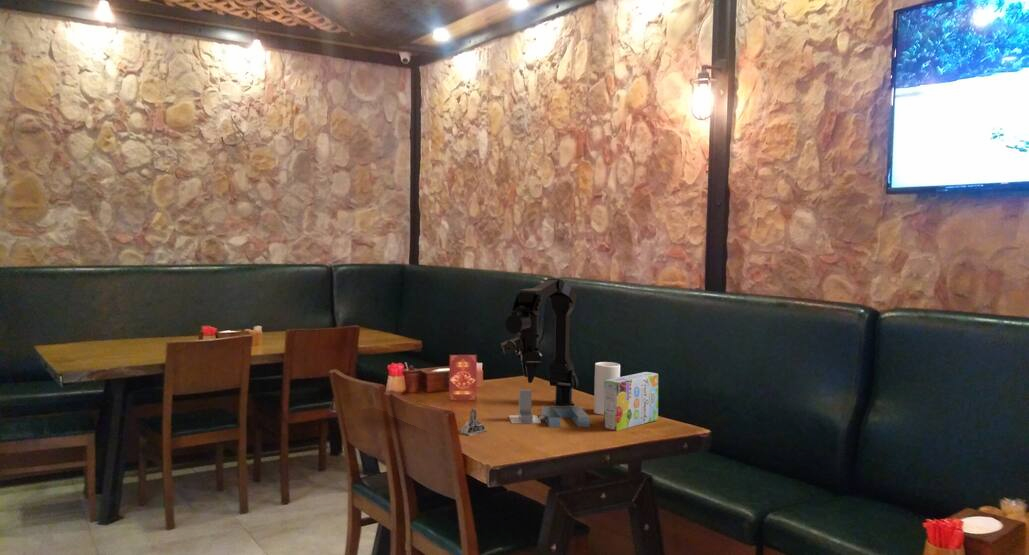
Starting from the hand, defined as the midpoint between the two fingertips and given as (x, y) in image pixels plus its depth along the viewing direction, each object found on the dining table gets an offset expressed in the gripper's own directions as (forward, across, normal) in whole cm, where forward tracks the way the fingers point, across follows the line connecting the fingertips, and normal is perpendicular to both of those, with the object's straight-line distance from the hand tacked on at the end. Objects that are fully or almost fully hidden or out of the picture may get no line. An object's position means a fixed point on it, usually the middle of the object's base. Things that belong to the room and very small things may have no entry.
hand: (528, 379), depth 248 cm
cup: (+13, -10, +28) cm, 32 cm away
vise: (+13, +4, +12) cm, 18 cm away
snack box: (+13, +6, +32) cm, 35 cm away
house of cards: (+13, +13, -19) cm, 26 cm away
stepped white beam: (+12, 0, -1) cm, 12 cm away
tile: (+13, +1, -1) cm, 13 cm away
